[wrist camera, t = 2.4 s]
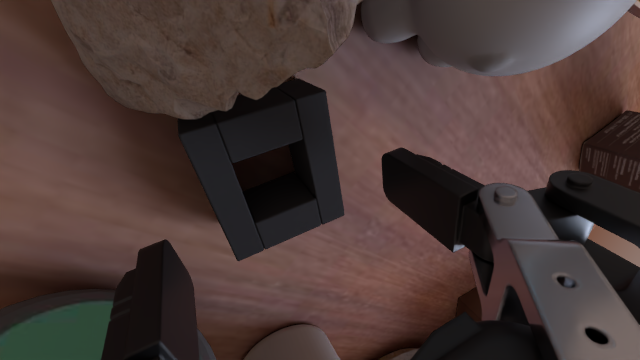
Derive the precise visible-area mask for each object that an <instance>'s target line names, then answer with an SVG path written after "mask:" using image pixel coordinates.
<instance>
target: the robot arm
mask: <svg viewBox="0 0 640 360" xmlns="http://www.w3.org/2000/svg"><path fill="white" fill-rule="evenodd" d="M382 176H383V189H384V193H385V195H386V197H387V198H388V200H389V201H390V202H391V203H393V204H394V205H395V206H396V207H398V208H399V209H400V210H401V211H402V212H404V213H405V214H406V215H407V216H409V217H410V218H411V219H412V220H414V221H415V222H416V223H417V224H418V225H420V226H421V227H422V228H423V229H425V230H426V231H427V232H428V233H430V234H431V235H432V236H433V237H434V238H436V239H437V240H438V241H439V242H441V243H442V244H443V245H444V246H446V247H447V248H448V249H449V250H450V251H452V252H453V253H454V252H455V251H457V250H459V249H461V248H463V247H465V246H466V247H467V248H468V249H469V260H470V264H471V267H472V271H473V275H474V279H475V283H476V286H477V290H478V294H479V298H480V302H481V308H482V321H476V322H475V321H474V320H473V319H472V318H471V317H470V316H469V315H468V314H467V313H466V312H463V313H462V314H460V315H459V316H457V317H456V318H454V319H452V320H451V321H449V322H448V323H446V324H444V325H443V326H441V327H440V328H438V329H437V330H435V331H433V332H432V333H431V335H430V336H429V337H428V338H427V340H426V341H425V342H424V343H423V345H422V346H421V347H420V348H419V349H418V351H417V352H416V353H415V354H414V356H413V357H412V358H411V359H410V360H640V267H638V266H636V265H634V264H633V263H631V262H629V261H627V260H625V259H624V258H622V257H620V256H618V255H616V254H615V253H613V252H611V251H609V250H607V249H606V248H604V247H602V246H600V245H598V244H596V243H595V242H593V241H591V240H589V239H588V236H589V234H590V232H591V229H592V227H593V225H594V224H596V225H598V226H600V227H602V228H604V229H606V230H608V231H610V232H612V233H614V234H616V235H618V236H620V237H622V238H624V239H625V240H627V241H629V242H631V243H633V244H635V245H636V246H638V247H639V248H640V193H639V192H637V191H634V190H631V189H629V188H626V187H624V186H621V185H619V184H616V183H613V182H611V181H608V180H606V179H603V178H601V177H598V176H595V175H593V174H590V173H586V172H581V171H572V170H565V171H558V172H555V173H553V174H552V175H551V176H550V178H549V181H548V184H547V187H546V188H540V189H535V190H529V191H526V190H525V189H523V188H521V187H518V186H515V185H512V184H507V183H492V184H488V185H483V184H481V183H479V182H477V181H475V180H473V179H471V178H469V177H467V176H465V175H463V174H461V173H459V172H457V171H456V170H454V169H452V170H451V168H450V167H448V166H446V165H442V163H440V162H438V161H436V160H434V159H432V158H430V157H426V156H421V155H416V154H414V153H412V152H410V151H408V150H406V149H405V148H398V149H396V150H393V151H390V152H388V153H385V154H384V155H383V156H382ZM110 319H111V321H109V324H108V328H107V333H106V338H105V343H104V347H103V352H102V357H101V360H200V358H199V346H198V334H197V322H196V310H195V298H194V288H193V283H192V280H191V277H190V275H189V273H188V271H187V269H186V268H185V266H184V265H183V263H182V261H181V260H180V258H179V257H178V255H177V253H176V252H175V250H174V249H173V247H172V245H171V244H170V242H169V241H168V240H166V239H165V240H162V241H160V242H157V243H155V244H152V245H150V246H147V247H145V248H142V249H140V250H139V252H138V259H137V266H136V269H134V270H131V271H129V272H126V274H125V275H124V277H123V278H122V280H121V282H120V283H119V285H118V286H117V288H116V290H115V295H114V300H113V307H112V309H111V314H110Z"/></svg>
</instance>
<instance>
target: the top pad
mask: <svg viewBox="0 0 640 360" xmlns="http://www.w3.org/2000/svg"><path fill="white" fill-rule="evenodd" d="M178 136H179V138H180V140H181V142H182V145H183V147H184V149H185V151H186V153H187V155H188V157H189V159H190V161H191V164H192V166H193V168H194V170H195V172H196V174H197V176H198V178H199V181H200V183H201V185H202V187H203V189H204V191H205V193H206V195H207V197H208V200H209V202H210V204H211V206H212V208H213V210H214V212H215V214H216V217H217V219H218V221H219V223H220V225H221V227H222V229H223V231H224V233H225V236H226V238H227V240H228V242H229V244H230V246H231V248H232V250H233V253H234V255H235V257H236V259H237V260H238V261H240V260H243V259H245V258H247V257H249V256H252V255H254V254H256V253H259V252H261V251H263V250H264V248H265V249H268V248H270V247H272V246H274V245H277V244H279V243H281V242H284V241H286V240H288V239H290V238H293V237H295V236H297V235H300V234H302V233H304V232H307V231H309V230H311V229H313V228H316V227H318V226H320V225H321V224H325V223H327V222H330V221H332V220H334V219H337V218H339V217H341V216H343V215H344V208H343V202H342V195H341V189H340V182H339V175H338V169H337V162H336V156H335V149H334V143H333V136H332V130H331V123H330V117H329V110H328V104H327V97H326V91H325V90H323V89H321V88H318V87H316V86H314V85H312V84H310V83H307V82H305V81H303V80H301V79H295V80H292V81H288V82H285V83H282V84H280V85H279V86H278V87H274V88H271V89H270V90H269V91H268V93H266V94H265V95H264V96H263V97H262V98H260V99H258V100H254V99H252V98H249V97H246V96H244V95H238V96H237V98H236V100H235V103H234V105H233V107H232V108H231V109H229V110H228V111H221V110H217V111H213V112H210V113H208V114H206V115H205V116H203V117H202V118H198V119H180V118H178ZM285 145H289V149H290V153H291V157H292V161H293V165H294V169H295V173H291V174H288V175H286V176H283V177H280V178H278V179H275V180H272V181H270V182H267V183H264V184H261V185H259V186H256V187H253V188H251V189H248V190H245V191H243V192H242V190H241V187H240V184H239V182H238V179H237V177H236V174H235V171H234V169H233V166H232V164H231V162H232V163H235V162H238V161H241V160H244V159H247V158H250V157H253V156H256V155H259V154H262V153H265V152H268V151H271V150H273V149H276V148H279V147H282V146H285Z"/></svg>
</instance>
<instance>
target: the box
mask: <svg viewBox="0 0 640 360" xmlns="http://www.w3.org/2000/svg"><path fill="white" fill-rule="evenodd" d="M579 165H580V166H579V171H581V172H586V173H590V174H593V175H595V176H598V177H601V178H603V179H606V180H608V181H611V182H613V183H616V184H619V185H621V186H624V187H626V188H629V189H631V190H634V191H637V192H639V193H640V113H638V112H632V111H625V112H624V113H623V114H622V115H620V116H619V117H618V118H617V119H615V120H614V121H613V122H612V123H610V124H609V125H608V126H606V127H605V128H604V129H603V130H601V131H600V132H599V133H597V134H596V135H595V136H593V137H592V138H590V139H589V140H587V141H586V142H585V143H584V144H583V147H582V153H581V158H580V163H579Z"/></svg>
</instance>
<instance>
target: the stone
mask: <svg viewBox="0 0 640 360" xmlns="http://www.w3.org/2000/svg"><path fill="white" fill-rule="evenodd" d="M51 1H52V3H53V6H54V8H55V10H56V12H57V14H58V16H59V18H60V20H61V22H62V24H63V26H64V29H65V30H66V32H67V34H68V36H69V37H70V39H71V41H72V42H73V44H74V46H75V47H76V49H77V51H78V54H79V56H80V58H81V60H82V62H83V64H84V65H85V67H86V68H87V69H88V71H89V72H90V73H91V75H92V76H93V77H94V78H95V79H96V80H97V81H98V82H99V83H100V84H101V86H102V87H103V89H104V90H105V92H106V93H107V95H108V96H110V97H112V98H113V99H114V100H115V101H116V102H118V103H120V104H121V105H123V106H124V107H127V108H131V109H135V110H140V111H144V112H146V113H164V114H167V115H170V116H173V117H176V118H180V119H198V118H202V117H203V116H205V115H206V114H208V113H210V112H213V111H217V110H221V111H228V110H229V109H231V108H232V107H233V105H234V103H235V100H236V98H237V95H238V93H241V94H242V95H244V96H246V97H249V98H252V99H254V100H258V99H260V98H262V97H263V96H264V95H265V94H266V93H268V91H269V90H270V89H271V88H274V87H278V86H279V85H280V84H282V83H283V82H284V81H285V80H286V79H288V78H289V77H291V76H292V75H294V74H295V73H297V72H299V71H301V70H303V69H305V68H317V67H319V66H320V65H322V64H324V63H325V62H326V61H327V60H328V59H329V58H330V57H331V56H332V55H333V54H334V53H335V51H336V50H337V49H338V48H339V47H340V46H341V45H342V43H343V42H344V41H345V40H346V39H347V38H348V36H349V34H350V31H351V29H352V26H353V23H354V17H355V11H356V5H357V4H359V3H360V2H361V1H363V0H51Z"/></svg>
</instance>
